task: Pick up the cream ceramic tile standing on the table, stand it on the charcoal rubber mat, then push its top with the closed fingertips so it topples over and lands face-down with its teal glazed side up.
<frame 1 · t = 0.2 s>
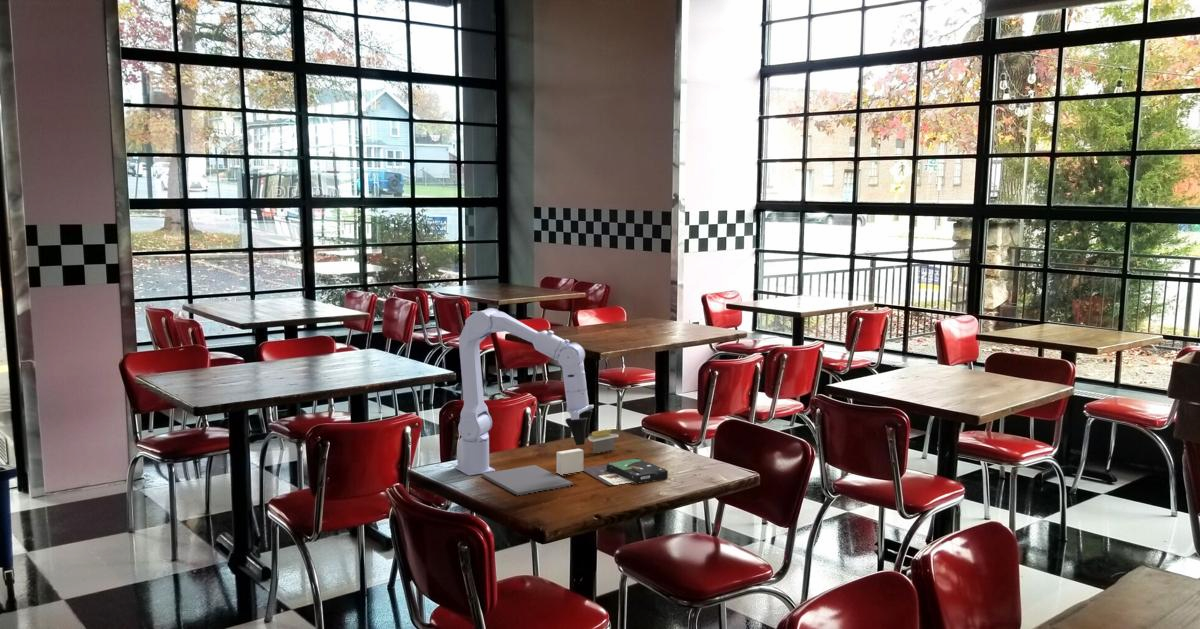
hand: (582, 441, 253), 10 cm above the table, tool pointing down, fingers open, 7 cm apart
grey rimmed container: (602, 453, 283), on the table
tile: (570, 472, 261), on the table
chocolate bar: (608, 478, 258), on the table, touching disk drive
mat: (526, 481, 253), on the table
disk drive: (636, 476, 259), on the table, touching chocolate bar
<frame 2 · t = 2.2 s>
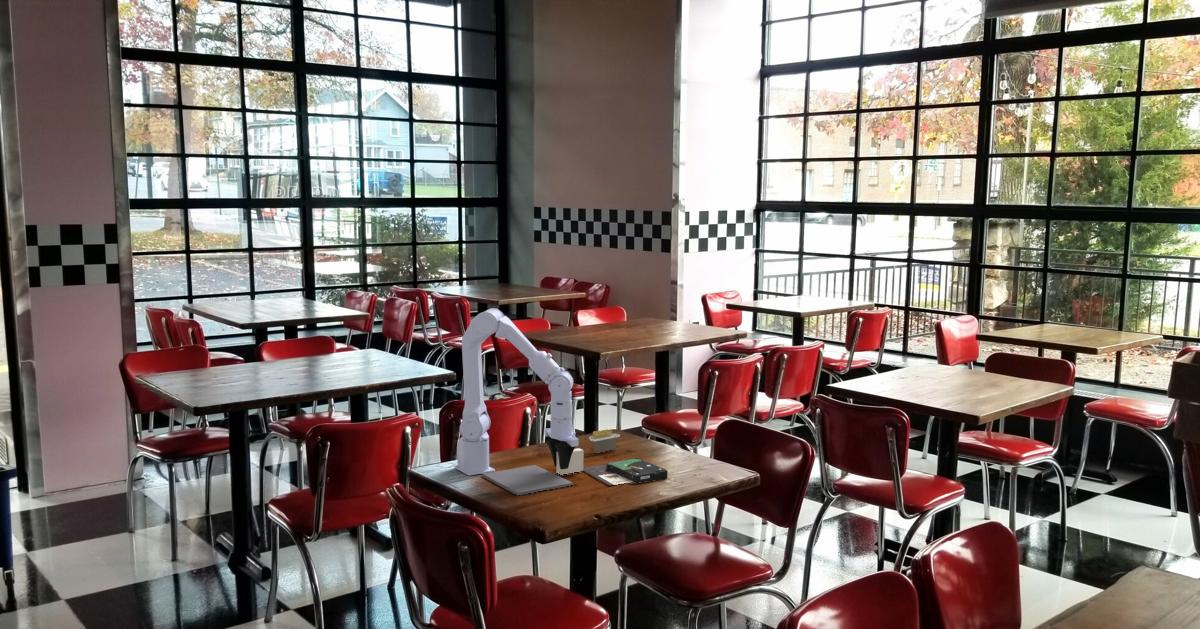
hand: (561, 467, 259), 2 cm above the table, tool pointing down, fingers closed on tile, 2 cm apart
tile: (570, 472, 261), on the table, touching gripper
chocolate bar: (608, 478, 258), on the table
disk drive: (636, 476, 259), on the table
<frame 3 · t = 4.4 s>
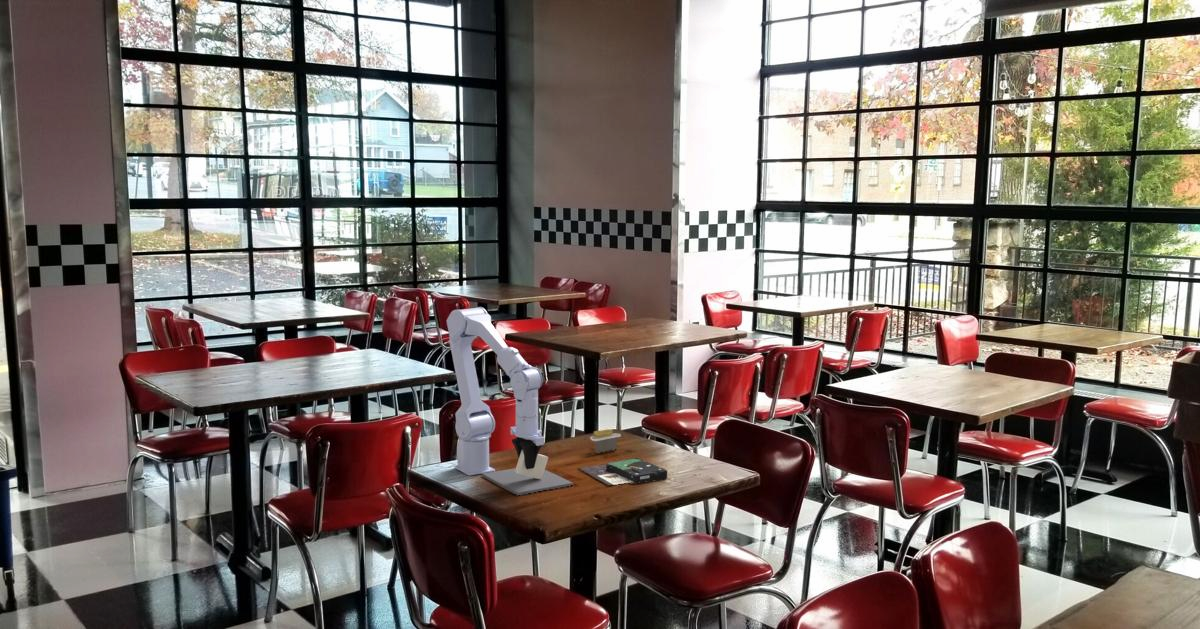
hand: (527, 467, 250), 4 cm above the table, tool pointing down, fingers closed on tile, 2 cm apart
tile: (528, 475, 250), point 2 cm above the table, tilted 21°, touching gripper, mat
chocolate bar: (607, 478, 258), on the table, touching disk drive
disk drive: (636, 476, 259), on the table, touching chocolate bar
when the fingers open (3 cm above the table, at t = 4.9 s): tile stays where it is, resting on mat.
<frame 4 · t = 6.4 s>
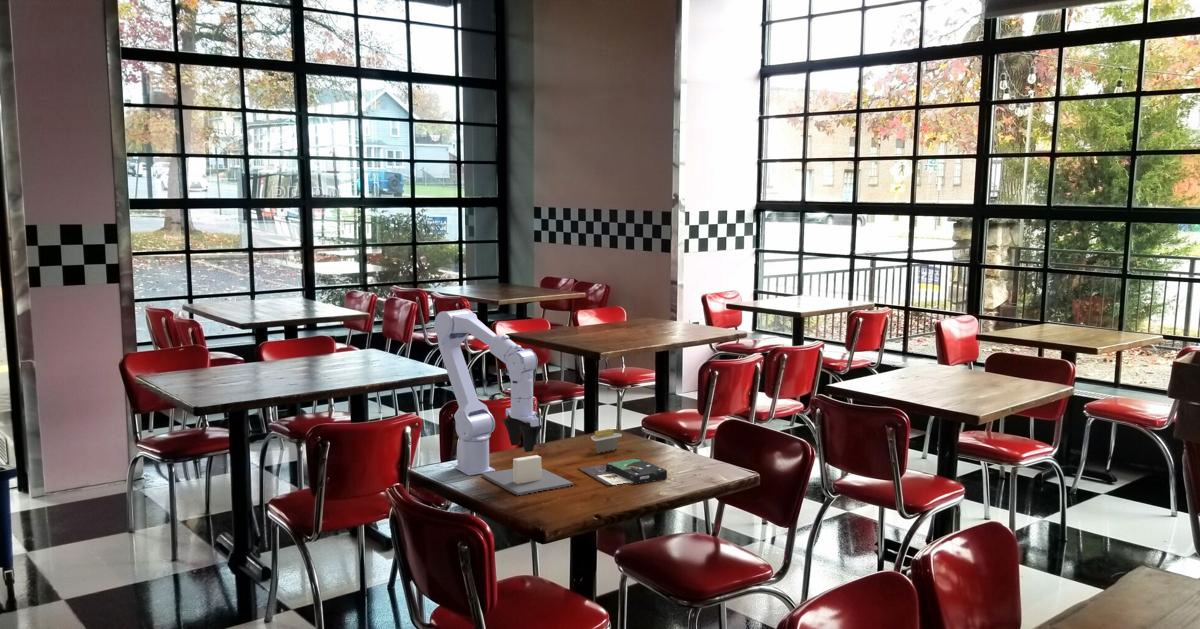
hand: (521, 448, 252), 9 cm above the table, tool pointing down, fingers open, 7 cm apart
tile: (527, 480, 250), point 1 cm above the table, touching mat
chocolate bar: (607, 478, 258), on the table
disk drive: (636, 476, 259), on the table
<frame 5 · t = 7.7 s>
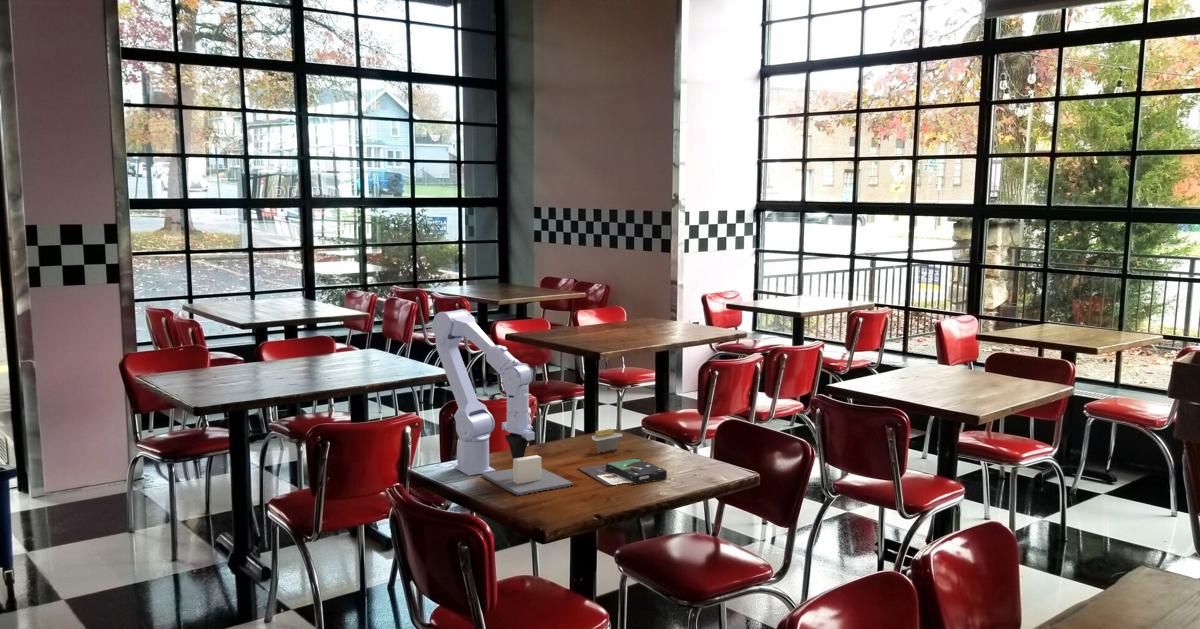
hand: (518, 461, 254), 5 cm above the table, tool pointing down, fingers closed
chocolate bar: (607, 478, 258), on the table, touching disk drive
disk drive: (635, 476, 259), on the table, touching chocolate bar
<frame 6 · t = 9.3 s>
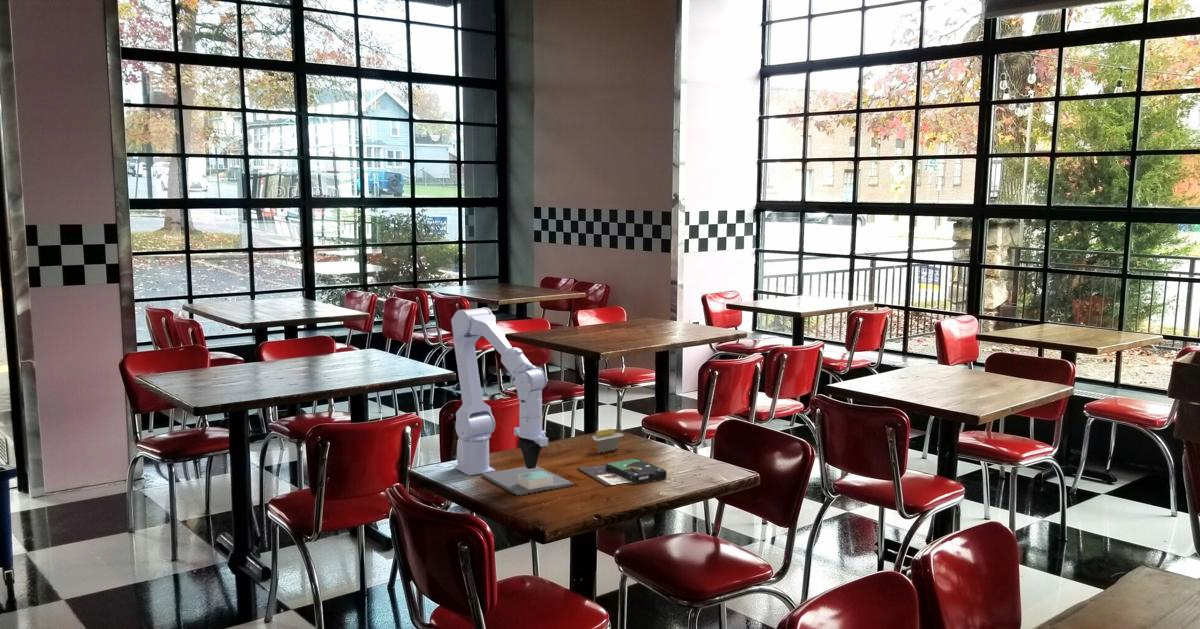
hand: (530, 467, 248), 5 cm above the table, tool pointing down, fingers closed
tile: (529, 477, 249), point 2 cm above the table, tilted 90°, touching mat
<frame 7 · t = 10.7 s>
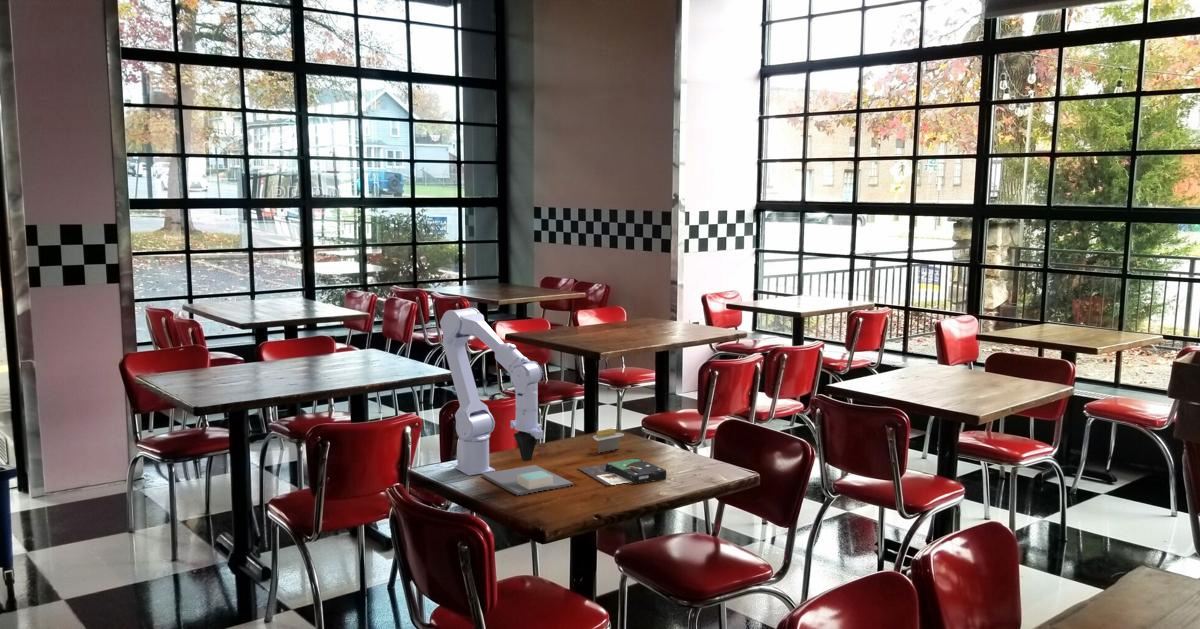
hand: (526, 460, 252), 6 cm above the table, tool pointing down, fingers closed
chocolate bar: (606, 478, 258), on the table
disk drive: (635, 476, 259), on the table
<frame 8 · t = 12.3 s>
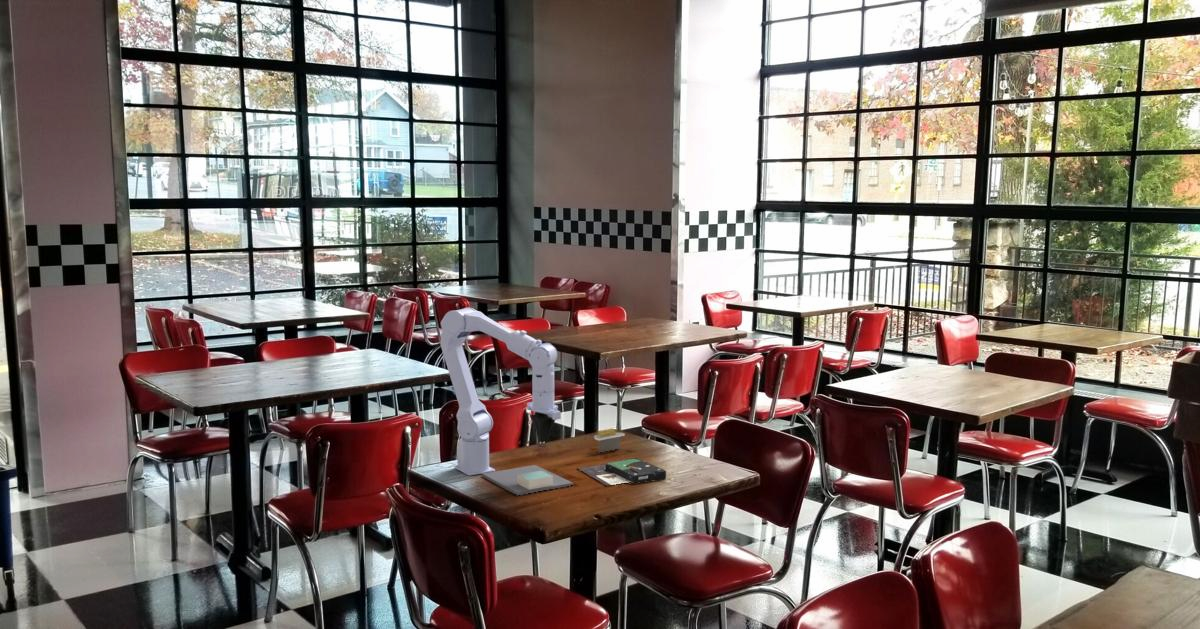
hand: (543, 441, 254), 10 cm above the table, tool pointing down, fingers closed
at the end: tile tilted 90°; tile inside the target area on the mat (3.4 cm from its centre), point 2.0 cm above the mat's base; the gripper is holding nothing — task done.
